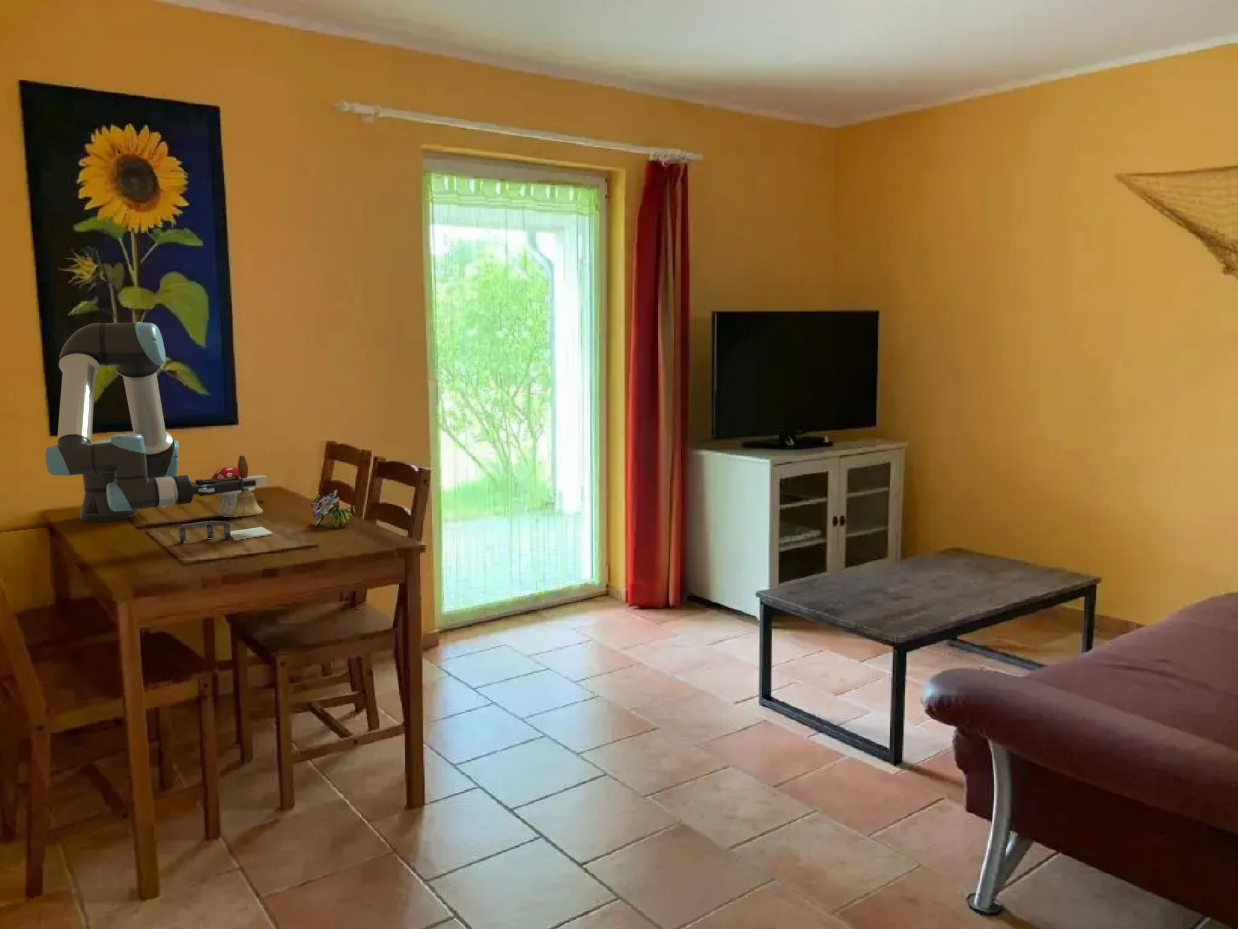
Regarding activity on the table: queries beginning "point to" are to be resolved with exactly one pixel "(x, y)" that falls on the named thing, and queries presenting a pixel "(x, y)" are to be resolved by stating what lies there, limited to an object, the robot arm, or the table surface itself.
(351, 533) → the table surface
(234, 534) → the pad
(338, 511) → the passion flower
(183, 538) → the gray stand
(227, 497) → the decorative mushroom
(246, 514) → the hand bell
